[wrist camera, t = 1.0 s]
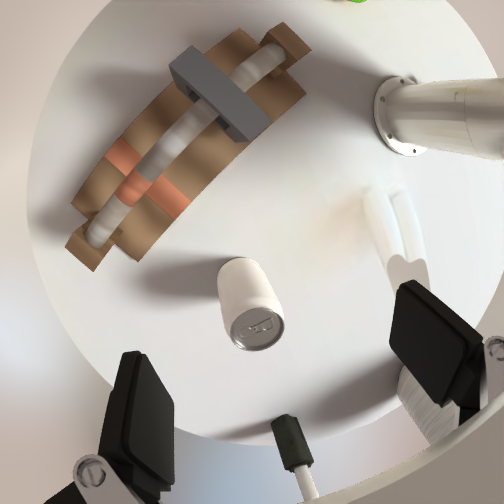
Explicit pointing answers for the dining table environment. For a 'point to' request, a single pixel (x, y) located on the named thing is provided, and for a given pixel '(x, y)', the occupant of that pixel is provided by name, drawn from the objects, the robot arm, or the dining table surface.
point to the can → (249, 305)
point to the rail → (192, 155)
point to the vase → (425, 408)
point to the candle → (295, 453)
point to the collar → (218, 95)
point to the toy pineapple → (357, 1)
